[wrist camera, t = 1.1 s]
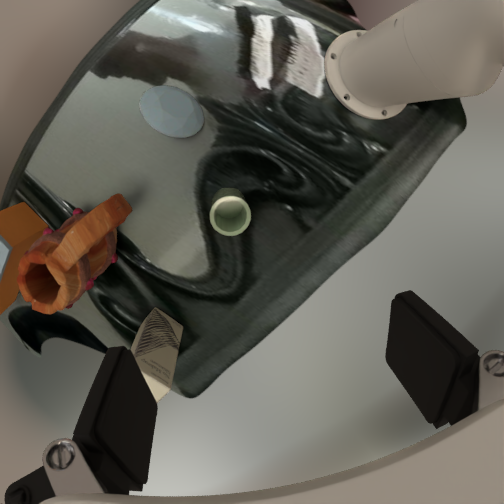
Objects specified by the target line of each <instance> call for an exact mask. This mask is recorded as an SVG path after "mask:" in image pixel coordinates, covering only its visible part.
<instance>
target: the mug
mask: <svg viewBox="0 0 504 504" xmlns="http://www.w3.org/2000/svg"><path fill="white" fill-rule="evenodd" d="M131 212H132V207H131V206H130V205H129V203H128V202H127V201H126V200H125V198H124V197H123V196H122V194H119V193H118V194H115V195H113V196H111V198H110V199H108V200H106V201H104V202H103V203H101V204H99V205H98V206H97V207H95V208H94V209H93V210H92V211H90V212H83V210H82V209H80V208H76V209H75V210H74V211H73V216H72V217H70V218H69V219H67V220H66V221H65V222H64V223H63V225H62V226H61V227H60V229H57V230H56V231H53V230H52V229H50V228H45V230H44V231H43V236H42V237H40V238H39V239H37V240H36V241H35V242H34V243H33V244H32V246H31V247H30V249H29V250H28V251H26V252H25V254H24V256H23V257H22V258H21V260H20V261H19V266H18V271H19V275H18V277H17V283H18V286H19V289H20V291H21V294H22V296H23V298H24V300H25V301H26V302H31V303H32V309H33V310H36V311H39V312H41V313H44V314H53V313H54V312H56V311H57V310H63V309H64V308H68V309H69V308H71V307H72V305H73V303H74V302H76V301H77V300H78V299H79V298H80V297H81V296H82V295H83V293H84V292H85V291H86V290H89V289H91V288H92V287H93V286H94V284H93V280H95V279H96V278H97V276H98V275H100V274H101V273H103V272H104V271H105V270H106V269H107V267H108V266H109V265H110V264H111V263H115V262H117V260H118V256H117V254H116V243H117V230H116V227H118V226H119V225H120V224H122V223H123V222H124V221H125V219H126V217H127V216H128V215H129V214H130V213H131Z"/></svg>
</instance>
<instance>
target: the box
mask: <svg viewBox="0 0 504 504" xmlns="http://www.w3.org/2000/svg"><path fill="white" fill-rule="evenodd" d="M182 331H183V326H182V325H180V324H179V323H178V322H176V321H175V320H174V319H172V318H171V317H169V316H168V315H167V314H165V313H164V312H162V311H161V310H159V309H158V308H156V307H155V308H154V309H153V310H152V311H151V312H150V314H149V315H148V316H147V317H146V319H145V320H144V321H143V323H142V324H141V326H140V328H139V331H138V333H137V335H136V338H135V340H134V342H133V345H132V347H131V351H132V353H133V355H134V357H135V359H136V362H137V364H138V366H139V368H140V370H141V372H142V374H143V376H144V378H145V380H146V382H147V384H148V386H149V388H150V390H151V392H152V394H153V396H154V398H155V400H156V402H157V403H158V402H159V401H160V400H161V399H162V398H163V397H164V396H165V395H166V394H167V393H168V392H169V391H170V390H171V385H172V380H173V375H174V370H175V365H176V360H177V355H178V349H179V345H180V340H181V336H182Z"/></svg>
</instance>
